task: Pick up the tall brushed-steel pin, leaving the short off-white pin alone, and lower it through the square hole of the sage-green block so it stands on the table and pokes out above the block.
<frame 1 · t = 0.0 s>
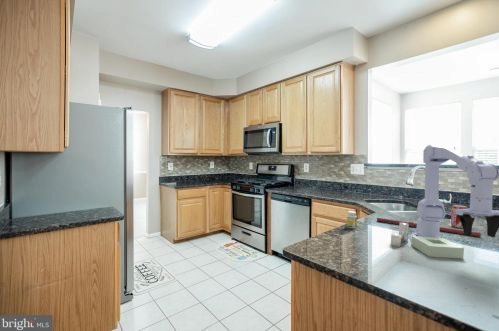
hand: (479, 235, 86), 10 cm above the worktop, tool pointing down, fingers open, 7 cm apart
supplement bottle: (351, 227, 130), on the worktop
rolling pin: (423, 229, 131), on the worktop
soda can: (458, 227, 135), on the worktop
short pin: (395, 245, 104), on the worktop
hole block: (435, 251, 97), on the worktop
long pin: (403, 241, 109), on the worktop
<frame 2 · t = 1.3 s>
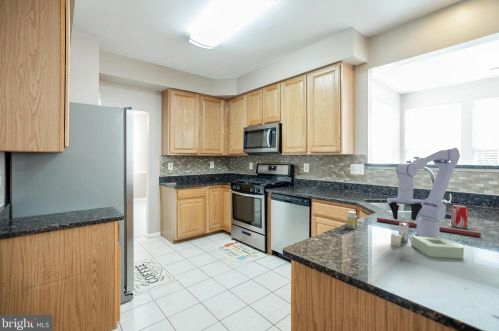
hand: (404, 219, 109), 10 cm above the worktop, tool pointing down, fingers open, 7 cm apart
nothing on the worktop moved.
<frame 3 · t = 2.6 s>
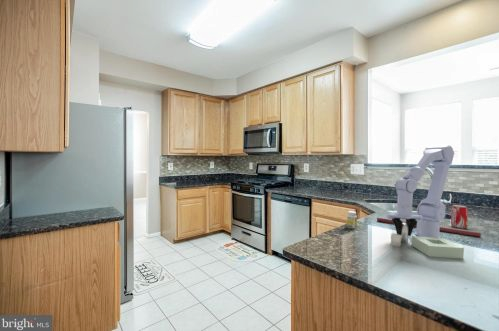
hand: (403, 235, 109), 3 cm above the worktop, tool pointing down, fingers closed on long pin, 4 cm apart
long pin: (403, 241, 109), on the worktop, touching gripper
everything else where it was.
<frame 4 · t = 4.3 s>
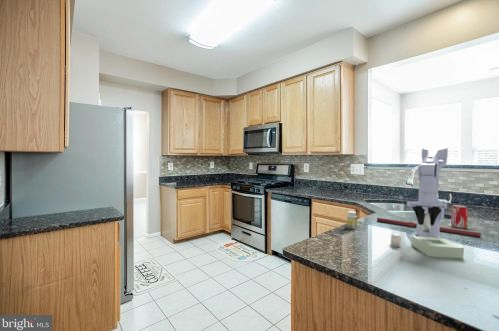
hand: (425, 224, 101), 10 cm above the worktop, tool pointing down, fingers closed on long pin, 4 cm apart
long pin: (425, 231, 101), point 7 cm above the worktop, touching gripper
everything else where it was.
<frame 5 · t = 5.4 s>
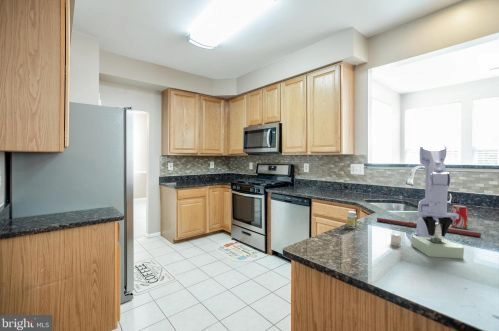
hand: (436, 235, 97), 7 cm above the worktop, tool pointing down, fingers closed on long pin, 4 cm apart
long pin: (435, 242, 97), point 4 cm above the worktop, touching gripper
everything else where it was.
when the fingers open (5 cm above the worktop, at t = 6.2 s): long pin drops 2 cm, resting in hole block.
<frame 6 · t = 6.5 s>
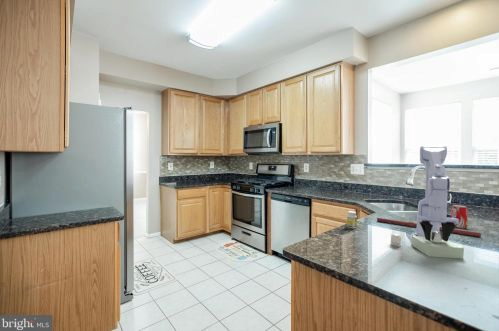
hand: (436, 240, 97), 5 cm above the worktop, tool pointing down, fingers open, 6 cm apart
long pin: (435, 251, 98), resting in hole block
everything else where it was.
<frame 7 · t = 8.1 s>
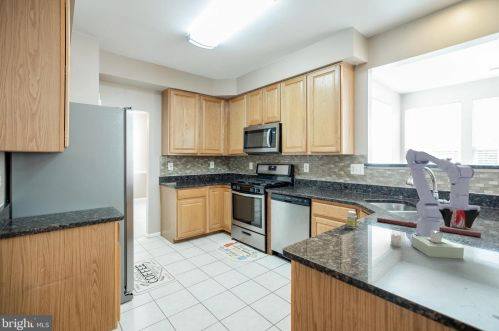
hand: (457, 227, 99), 9 cm above the worktop, tool pointing down, fingers open, 7 cm apart
nothing on the worktop moved.
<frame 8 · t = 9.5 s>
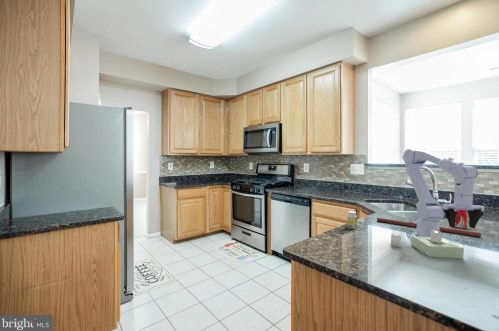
hand: (461, 227, 100), 9 cm above the worktop, tool pointing down, fingers open, 7 cm apart
nothing on the worktop moved.
at the end: long pin 0.2 cm off-centre on the hole block, point 0.0 cm above the hole block's base; long pin tilted 0°; the gripper is holding nothing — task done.
